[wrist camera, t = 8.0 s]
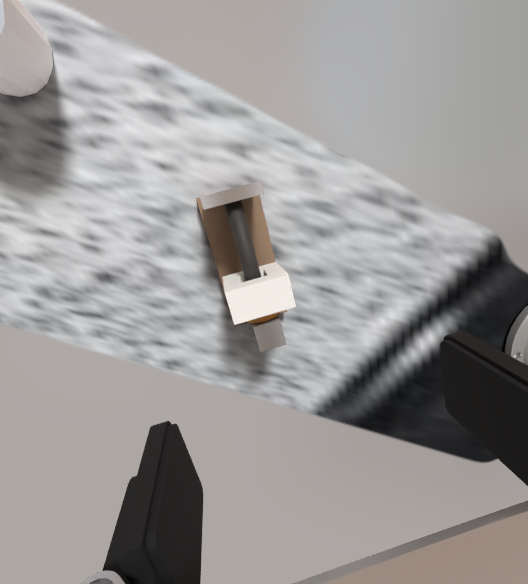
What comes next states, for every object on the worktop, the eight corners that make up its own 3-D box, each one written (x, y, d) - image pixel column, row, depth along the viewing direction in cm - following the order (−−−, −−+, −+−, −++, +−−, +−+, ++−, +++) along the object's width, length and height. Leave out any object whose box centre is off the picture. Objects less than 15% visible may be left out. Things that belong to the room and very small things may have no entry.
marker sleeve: (275, 261, 26) (288, 274, 22) (282, 289, 26) (295, 307, 22) (222, 276, 25) (224, 292, 21) (230, 304, 26) (234, 324, 22)
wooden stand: (253, 183, 27) (269, 178, 20) (283, 306, 31) (305, 338, 24) (196, 198, 27) (191, 199, 20) (233, 320, 31) (240, 358, 24)
